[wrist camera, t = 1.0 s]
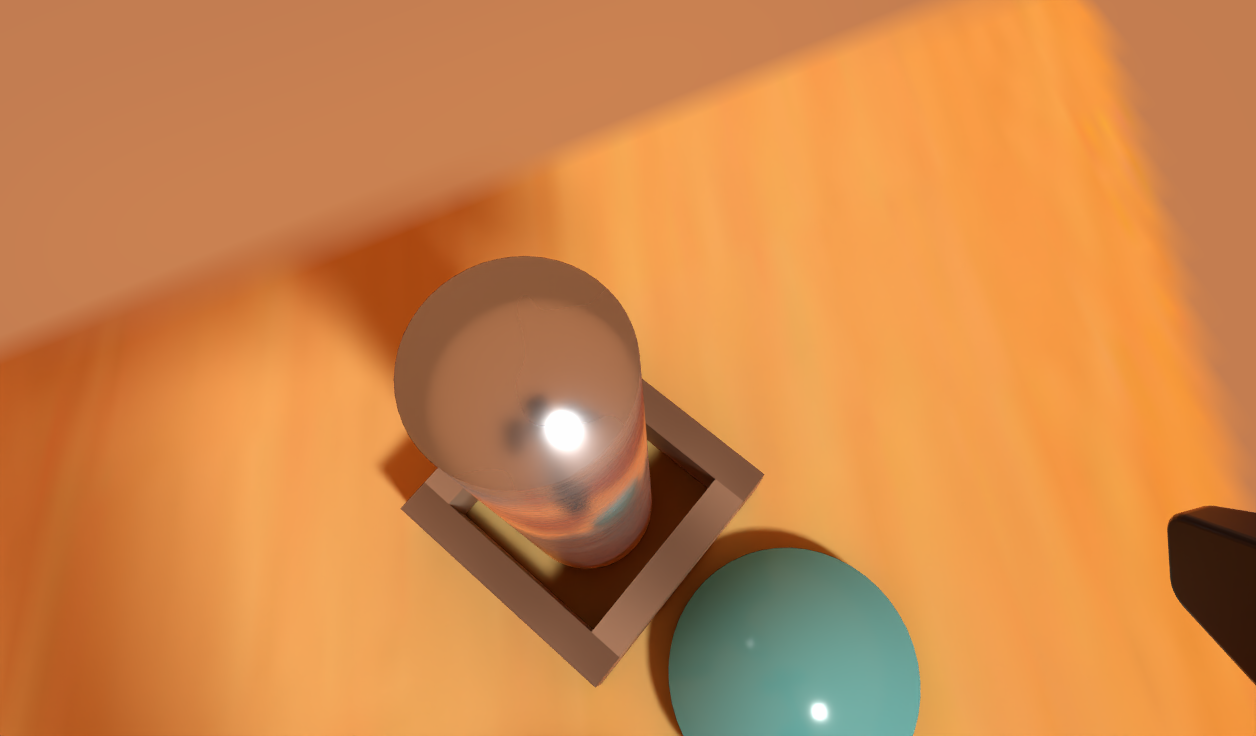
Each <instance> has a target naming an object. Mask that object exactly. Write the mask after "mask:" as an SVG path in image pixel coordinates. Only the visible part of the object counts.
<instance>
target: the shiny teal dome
mask: <svg viewBox="0 0 1256 736" xmlns="http://www.w3.org/2000/svg"><path fill="white" fill-rule="evenodd" d="M668 670H669V688H670V694H671V701H672V705H673V709H674V712H675V716H676V719H677V722H678V724H679V727H680V729H681V732H682V734H683V736H913V734H914V730H915V726H916V722H917V718H918V713H919V705H920V675H919V667H918V661H917V658H916V654H915V650H914V646H913V643H912V641H911V638H910V636H909V633H908V630H907V628H906V626H905V625H904V623H903V621H902V619H901V617H900V615H899V614H898V612H897V611H896V609H895V608H894V606H893V605H892V603H891V602H890V601H889V599H888V598H887V597H886V596H885V595H884V594H883V592H882V591H881V590H880V589H879V588H878V587H877V586H876V585H875V584H874V583H873V582H871V581H870V580H869V579H868V578H867V577H866V576H865V575H863V574H862V573H860V572H859V571H857V570H856V569H854V568H853V567H852V566H850V565H848V564H846V563H844V562H842V561H840V560H838V559H836V558H834V557H831V556H828V555H826V554H823V553H819V552H815V551H811V550H807V549H798V548H773V549H766V550H760V551H757V552H753V553H750V554H747V555H744V556H742V557H740V558H738V559H735V560H733V561H731V562H729V563H728V564H726V565H725V566H723V567H722V568H720V569H718V570H717V571H716V572H715V573H714V574H712V575H711V576H710V577H709V578H708V579H707V580H706V581H705V582H704V583H703V584H702V585H701V586H700V587H699V588H698V589H697V591H696V592H695V593H694V595H693V596H692V597H691V599H690V600H689V602H688V603H687V605H686V607H685V609H684V611H683V613H682V615H681V617H680V619H679V621H678V624H677V626H676V629H675V632H674V635H673V639H672V644H671V648H670V656H669V667H668Z"/></svg>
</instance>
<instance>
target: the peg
mask: <svg viewBox="0 0 1256 736" xmlns="http://www.w3.org/2000/svg"><path fill="white" fill-rule="evenodd" d="M394 390H395V398H396V403H397V408H398V412H399V414H400V417H401V420H402V423H403V425H404V427H405V429H406V431H407V433H408V435H409V436H410V438H411V439H412V441H413V442H414V444H415V445H416V446H417V448H418V449H419V450H420V451H421V452H422V453H423V454H424V455H425V456H426V458H427V459H428V460H429V461H430V462H432V463H433V464H434V465H435V466H437V467H438V468H439V469H440V470H442V471H443V472H444V473H446V474H447V475H448V476H449V477H451V478H452V479H453V480H454V481H456V482H457V483H458V484H459V485H461V486H462V487H463V488H464V489H466V490H467V491H468V492H469V493H471V494H472V495H473V496H474V497H476V498H477V499H478V500H479V501H481V502H482V503H483V504H484V505H486V506H487V507H488V508H489V509H491V510H492V511H493V512H494V513H496V514H497V515H498V516H500V517H501V518H502V519H503V520H505V521H506V522H507V523H508V524H510V525H511V526H512V527H513V528H515V529H516V530H517V531H518V532H520V533H521V534H522V535H523V536H525V537H526V538H527V539H528V540H530V541H531V542H532V543H533V544H535V545H536V546H537V547H538V548H540V549H541V550H542V551H543V552H545V553H546V554H547V555H549V556H550V557H551V558H553V559H554V560H556V561H558V562H560V563H562V564H564V565H567V566H571V567H575V568H582V569H593V568H599V567H603V566H607V565H610V564H612V563H614V562H616V561H618V560H620V559H621V558H623V557H625V556H626V555H627V554H628V553H630V552H631V551H632V550H633V549H634V548H635V547H636V545H637V544H638V543H639V541H640V540H641V539H642V537H643V535H644V533H645V531H646V529H647V527H648V524H649V521H650V517H651V510H652V495H651V483H650V471H649V460H648V448H647V436H646V424H645V412H644V400H643V388H642V377H641V365H640V354H639V348H638V342H637V338H636V335H635V332H634V329H633V326H632V324H631V322H630V320H629V318H628V316H627V314H626V312H625V310H624V309H623V307H622V306H621V304H620V303H619V301H618V300H617V299H616V298H615V297H614V295H613V294H612V293H611V292H610V291H609V290H608V289H607V288H606V287H605V286H604V285H602V284H601V283H600V282H599V281H598V280H596V279H595V278H593V277H592V276H590V275H589V274H587V273H586V272H584V271H582V270H580V269H578V268H576V267H574V266H572V265H569V264H566V263H563V262H560V261H557V260H552V259H547V258H543V257H530V256H520V257H507V258H501V259H496V260H492V261H488V262H485V263H481V264H479V265H476V266H474V267H471V268H469V269H467V270H465V271H463V272H461V273H459V274H458V275H456V276H454V277H453V278H451V279H450V280H448V281H447V282H445V283H444V284H443V285H441V286H440V287H439V288H438V289H437V290H436V291H435V292H433V293H432V294H431V295H430V296H429V297H428V298H427V299H426V301H425V302H424V303H423V304H422V305H421V306H420V308H419V309H418V310H417V312H416V313H415V315H414V316H413V318H412V319H411V321H410V323H409V325H408V327H407V329H406V331H405V333H404V334H403V337H402V340H401V343H400V346H399V348H398V353H397V357H396V362H395V371H394Z"/></svg>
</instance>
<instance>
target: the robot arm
mask: <svg viewBox="0 0 1256 736" xmlns="http://www.w3.org/2000/svg"><path fill="white" fill-rule="evenodd" d="M1167 533H1168V550H1169V566H1170V580H1171V585H1172V588H1173V591H1174V593H1175V595H1176V597H1177V598H1178V600H1179V601H1180V603H1181V604H1182V605H1183V607H1184V608H1185V609H1186V610H1187V611H1188V612H1189V613H1190V614H1191V615H1192V616H1193V617H1194V619H1195V620H1196V621H1197V622H1198V623H1199V624H1200V625H1201V626H1202V627H1203V628H1204V629H1205V631H1206V632H1207V633H1208V634H1209V635H1210V636H1211V637H1212V638H1213V639H1214V640H1215V641H1216V643H1217V644H1218V645H1219V646H1220V647H1221V648H1222V649H1223V650H1224V651H1225V652H1226V653H1227V655H1228V656H1229V657H1230V658H1231V659H1232V660H1233V661H1234V662H1235V663H1236V664H1237V665H1238V667H1239V668H1240V669H1241V670H1242V671H1243V672H1244V673H1245V674H1246V675H1247V676H1248V677H1249V678H1250V680H1251V681H1252V682H1253V683H1254V684H1255V685H1256V513H1254V512H1248V511H1242V510H1236V509H1230V508H1224V507H1218V506H1203V507H1200V508H1196V509H1192V510H1189V511H1185V512H1181V513H1178V514H1175V515H1174V516H1173V517H1172V518H1171V519H1170V520H1169V523H1168V528H1167Z"/></svg>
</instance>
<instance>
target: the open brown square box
mask: <svg viewBox="0 0 1256 736" xmlns="http://www.w3.org/2000/svg"><path fill="white" fill-rule="evenodd" d="M642 388H643V400H644V412H645V424H646V436H647V440H648V441H649V442H651V443H652V444H653V445H654V446H656V447H657V448H658V449H659V450H661V451H662V452H663V453H664V454H666V455H667V456H668V457H669V458H671V459H672V460H673V461H674V462H676V463H677V464H678V465H679V466H681V467H682V468H683V469H684V470H686V471H687V472H688V473H689V474H691V475H692V476H693V477H694V478H695V479H697V480H698V481H699V482H700V483H702V484H703V485H704V486H705V487H707V488H708V489H707V490H706V491H705V493H704V494H703V495H702V496H701V498H700V499H699V500H698V501H697V503H696V504H695V505H694V506H693V507H692V509H691V510H690V511H689V512H688V514H687V515H686V516H685V517H684V519H683V520H682V521H681V522H680V523H679V525H678V526H677V527H676V528H675V530H674V531H673V532H672V533H671V535H670V536H669V537H668V538H667V540H666V541H665V542H664V543H663V544H662V546H661V547H660V548H659V549H658V551H657V552H656V553H655V554H654V556H653V557H652V558H651V559H650V560H649V562H648V563H647V564H646V565H645V567H644V568H643V569H642V570H641V572H640V573H639V574H638V575H637V577H636V578H635V579H634V580H633V581H632V583H631V584H630V585H629V586H628V588H627V589H626V590H625V591H624V593H623V594H622V595H621V596H620V597H619V599H618V600H617V601H616V602H615V604H614V605H613V606H612V607H611V609H610V610H609V611H608V612H607V613H606V615H605V616H604V617H603V618H602V620H601V621H600V622H599V623H598V625H597V626H596V627H595V628H594V630H593V629H592V628H591V627H590V626H588V625H587V624H586V623H585V622H584V621H583V620H582V619H581V618H580V617H578V616H577V615H576V614H575V613H574V612H573V611H572V610H571V609H570V608H568V607H567V606H566V605H565V604H564V603H563V602H562V601H561V600H559V599H558V598H557V597H556V596H555V595H554V594H553V593H552V592H551V591H549V590H548V589H547V588H546V587H545V586H544V585H543V584H542V583H540V582H539V581H538V580H537V579H536V578H535V577H534V576H533V575H532V574H530V573H529V572H528V571H527V570H526V569H525V568H524V567H523V566H522V565H520V564H519V563H518V562H517V561H516V560H515V559H514V558H513V557H511V556H510V555H509V554H508V553H507V552H506V551H505V550H504V549H503V548H501V547H500V546H499V545H498V544H497V543H496V542H495V541H494V540H493V539H491V538H490V537H489V536H488V535H487V534H486V533H485V532H484V531H482V530H481V529H480V528H479V527H478V526H477V525H476V524H475V523H474V522H472V521H471V520H470V519H469V518H468V517H467V516H466V515H465V514H466V513H467V512H468V511H469V510H470V508H471V507H472V506H473V505H474V504H475V503H476V502H477V501H478V499H477V498H476V497H474V496H473V495H472V494H471V493H469V492H468V491H467V490H466V489H464V488H463V487H462V486H461V485H459V484H458V483H457V482H456V481H454V480H453V479H452V478H451V477H449V476H448V475H447V474H446V473H444V472H443V471H442V470H440V469H439V468H437V469H436V470H435V471H434V473H433V474H432V475H431V476H430V477H429V478H428V479H427V480H426V481H425V482H424V484H423V485H422V486H421V487H420V488H419V489H418V490H417V491H416V492H415V493H414V494H413V496H412V497H411V498H410V499H409V500H408V501H407V502H406V503H405V504H404V505H403V506H402V508H401V509H402V510H403V511H404V512H405V513H406V514H407V515H408V516H409V517H410V518H411V519H412V520H414V521H415V522H416V523H417V524H418V525H419V526H420V527H421V528H422V529H423V530H424V531H425V532H427V533H428V534H429V535H430V536H431V537H432V538H433V539H434V540H435V541H436V542H437V543H439V544H440V545H441V546H442V547H443V548H444V549H445V550H446V551H447V552H448V553H449V554H451V555H452V556H453V557H454V558H455V559H456V560H457V561H458V562H459V563H460V564H461V565H463V566H464V567H465V568H466V569H467V570H468V571H469V572H470V573H471V574H472V575H473V576H474V577H476V578H477V579H478V580H479V581H480V582H481V583H482V584H483V585H484V586H485V587H486V588H488V589H489V590H490V591H491V592H492V593H493V594H494V595H495V596H496V597H497V598H498V599H500V600H501V601H502V602H503V603H504V604H505V605H506V606H507V607H508V608H509V609H510V610H512V611H513V612H514V613H515V614H516V615H517V616H518V617H519V618H520V619H521V620H522V621H523V622H525V623H526V624H527V625H528V626H529V627H530V628H531V629H532V630H533V631H534V632H535V633H537V634H538V635H539V636H540V637H541V638H542V639H543V640H544V641H545V642H546V643H547V644H549V645H550V646H551V647H552V648H553V649H554V650H555V651H556V652H557V653H558V654H559V655H561V656H562V657H563V658H564V659H565V660H566V661H567V662H568V663H569V664H570V665H571V666H572V667H574V668H575V669H576V670H577V671H578V672H579V673H580V674H581V675H582V676H583V677H584V678H586V679H587V680H588V681H589V682H590V683H591V684H592V685H593V686H594V687H597V686H598V685H600V684H601V683H602V682H603V681H604V679H605V678H606V677H607V676H608V674H609V673H610V672H611V671H612V669H613V668H614V667H615V666H616V664H617V663H618V662H619V661H620V659H621V658H622V657H623V656H624V654H625V653H626V652H627V650H628V649H629V648H630V647H631V645H632V644H633V643H634V642H635V640H636V639H637V638H638V637H639V635H640V634H641V633H642V632H643V630H644V629H645V628H646V627H647V625H648V624H649V623H650V622H651V620H652V619H653V618H654V616H655V615H656V614H657V613H658V611H659V610H660V609H661V608H662V606H663V605H664V604H665V603H666V601H667V600H668V599H669V598H670V596H671V595H672V594H673V593H674V591H675V590H676V589H677V587H678V586H679V585H680V584H681V582H682V581H683V580H684V579H685V577H686V576H687V575H688V574H689V572H690V571H691V570H692V569H693V567H694V566H695V565H696V564H697V562H698V561H699V560H700V559H701V557H702V556H703V555H704V553H705V552H706V551H707V550H708V548H709V547H710V546H711V545H712V543H713V542H714V541H715V540H716V538H717V537H718V536H719V535H720V533H721V532H722V531H723V530H724V528H725V527H726V526H727V524H728V523H729V522H730V521H731V519H732V518H733V517H734V516H735V514H736V513H737V512H738V511H739V509H740V508H741V507H742V506H743V504H744V503H745V502H746V501H747V499H748V498H749V497H750V496H751V494H752V493H753V492H754V490H755V489H756V488H757V486H758V485H759V483H760V481H761V479H762V478H763V476H764V474H763V473H762V472H761V471H759V470H758V469H757V468H755V467H754V466H753V465H752V464H750V463H749V462H748V461H747V460H745V459H744V458H743V457H741V456H740V455H739V454H738V453H736V452H735V451H734V450H732V449H731V448H730V447H729V446H727V445H726V444H725V443H723V442H722V441H721V440H720V439H718V438H717V437H716V436H715V435H713V434H712V433H711V432H709V431H708V430H707V429H706V428H704V427H703V426H702V425H700V424H699V423H698V422H697V421H695V420H694V419H693V418H691V417H690V416H689V415H688V414H686V413H685V412H684V411H683V410H681V409H680V408H679V407H677V406H676V405H675V404H674V403H672V402H671V401H670V400H668V399H667V398H666V397H665V396H663V395H662V394H661V393H659V392H658V391H657V390H656V389H654V388H653V387H652V386H651V385H649V384H648V383H647V382H645V381H644V380H643V379H642Z"/></svg>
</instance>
